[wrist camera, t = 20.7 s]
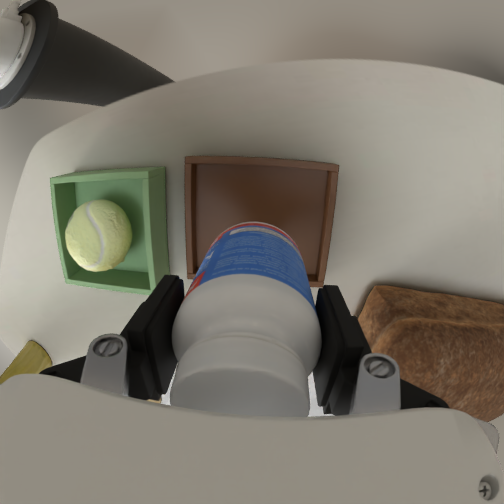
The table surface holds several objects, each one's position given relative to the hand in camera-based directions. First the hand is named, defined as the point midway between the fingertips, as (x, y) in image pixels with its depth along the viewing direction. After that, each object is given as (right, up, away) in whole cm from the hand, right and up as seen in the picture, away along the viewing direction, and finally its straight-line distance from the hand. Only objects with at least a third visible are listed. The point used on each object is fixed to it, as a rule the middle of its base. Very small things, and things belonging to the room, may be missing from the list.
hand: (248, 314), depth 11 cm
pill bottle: (0, +2, +5) cm, 5 cm away
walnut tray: (+1, +5, +14) cm, 15 cm away
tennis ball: (-14, +5, +15) cm, 21 cm away
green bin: (-14, +5, +15) cm, 21 cm away
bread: (+25, -10, +19) cm, 33 cm away
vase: (-37, -15, +25) cm, 47 cm away
